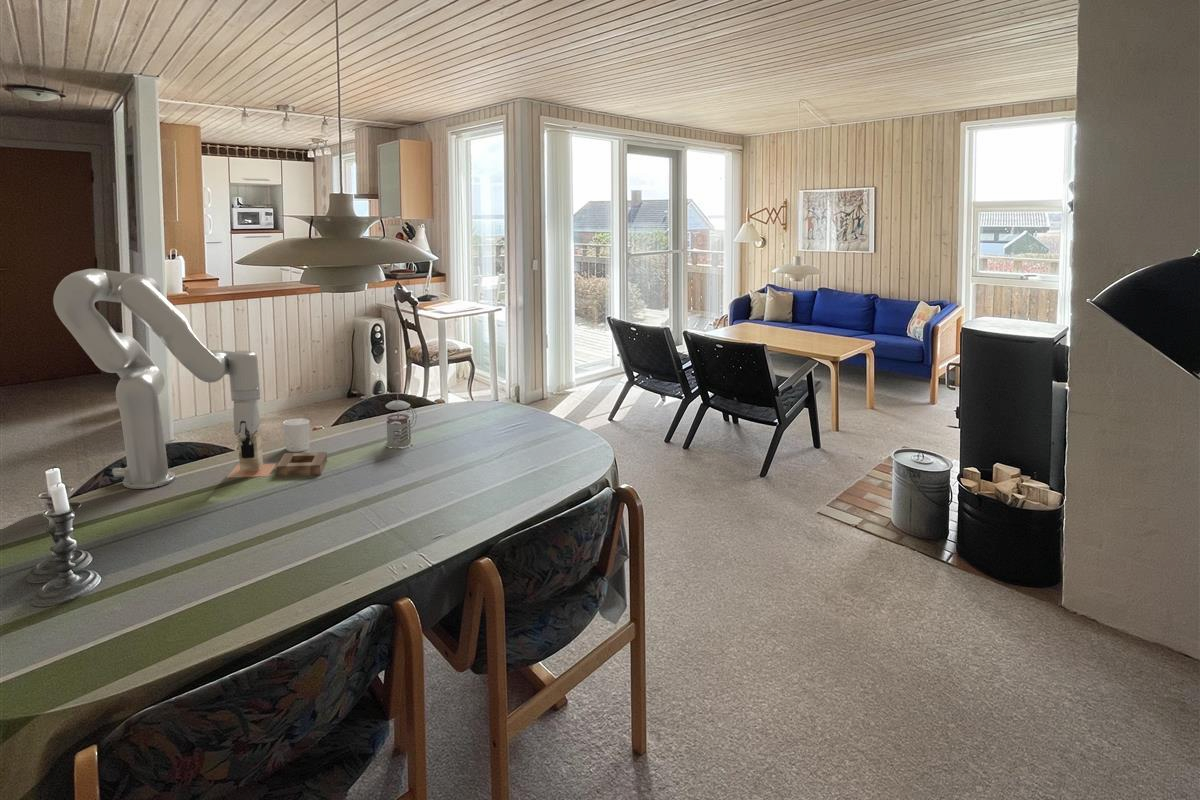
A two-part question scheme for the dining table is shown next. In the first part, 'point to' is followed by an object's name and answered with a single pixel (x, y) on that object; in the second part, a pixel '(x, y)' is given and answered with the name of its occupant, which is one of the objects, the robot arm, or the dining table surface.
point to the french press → (395, 438)
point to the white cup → (296, 434)
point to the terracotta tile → (252, 471)
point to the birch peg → (257, 459)
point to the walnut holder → (301, 464)
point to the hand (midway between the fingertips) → (250, 453)
